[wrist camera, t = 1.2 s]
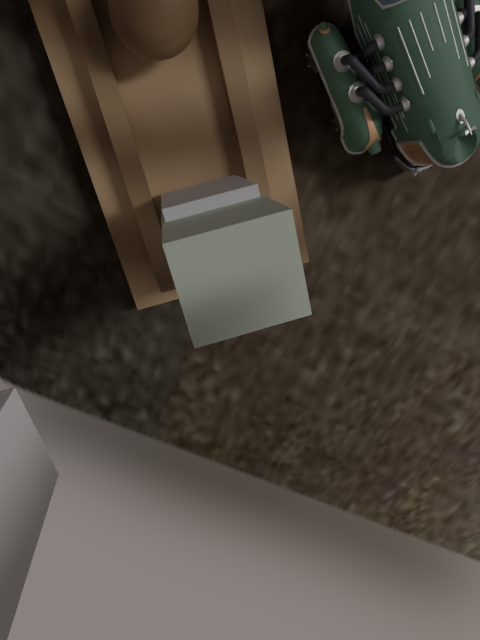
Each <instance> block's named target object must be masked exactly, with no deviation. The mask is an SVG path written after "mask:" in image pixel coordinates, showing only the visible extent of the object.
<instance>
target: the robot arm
mask: <svg viewBox="0 0 480 640" xmlns="http://www.w3.org/2000/svg"><path fill="white" fill-rule="evenodd" d="M57 478H58V472H57V470H56V468H55V466H54V464H53V462H52V460H51V458H50V456H49V454H48V452H47V450H46V448H45V446H44V444H43V442H42V440H41V438H40V436H39V434H38V432H37V430H36V428H35V426H34V424H33V422H32V420H31V418H30V416H29V415H28V412H27V410H26V408H25V406H24V404H23V403H22V401H21V399H20V397H19V395H18V393H17V391H16V389H15V387H14V388H10V389H7V390H3V391H0V640H7V638H8V635H9V632H10V628H11V625H12V622H13V619H14V616H15V612H16V609H17V606H18V603H19V600H20V596H21V593H22V590H23V587H24V584H25V580H26V577H27V574H28V571H29V567H30V564H31V561H32V558H33V554H34V551H35V548H36V545H37V542H38V539H39V535H40V532H41V529H42V526H43V523H44V519H45V516H46V513H47V510H48V506H49V503H50V500H51V496H52V494H53V490H54V487H55V484H56V481H57Z"/></svg>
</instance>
